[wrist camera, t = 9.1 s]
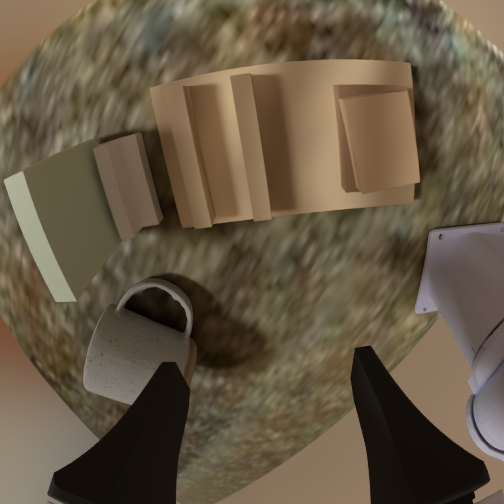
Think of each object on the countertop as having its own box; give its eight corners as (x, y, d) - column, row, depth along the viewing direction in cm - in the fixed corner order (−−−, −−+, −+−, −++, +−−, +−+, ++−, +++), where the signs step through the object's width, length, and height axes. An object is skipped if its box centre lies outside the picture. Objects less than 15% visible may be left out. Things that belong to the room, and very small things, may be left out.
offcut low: (398, 85, 13) (407, 86, 12) (401, 181, 16) (409, 188, 15) (332, 85, 14) (337, 84, 13) (341, 186, 17) (345, 192, 16)
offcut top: (397, 90, 13) (407, 90, 12) (410, 175, 15) (419, 182, 14) (337, 99, 13) (344, 99, 12) (356, 187, 16) (362, 194, 15)
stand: (141, 131, 16) (124, 138, 14) (163, 218, 19) (151, 235, 17) (59, 158, 17) (38, 169, 15) (83, 232, 20) (67, 248, 18)
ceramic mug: (186, 368, 28) (171, 435, 21) (109, 340, 26) (81, 401, 20) (219, 292, 23) (204, 372, 16) (120, 256, 21) (74, 322, 15)
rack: (403, 63, 13) (422, 61, 11) (407, 197, 18) (423, 212, 16) (155, 87, 15) (139, 88, 13) (185, 221, 20) (176, 239, 17)
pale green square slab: (95, 138, 16) (22, 170, 10) (125, 236, 19) (76, 301, 13) (77, 144, 16) (3, 179, 10) (106, 239, 19) (56, 302, 13)
